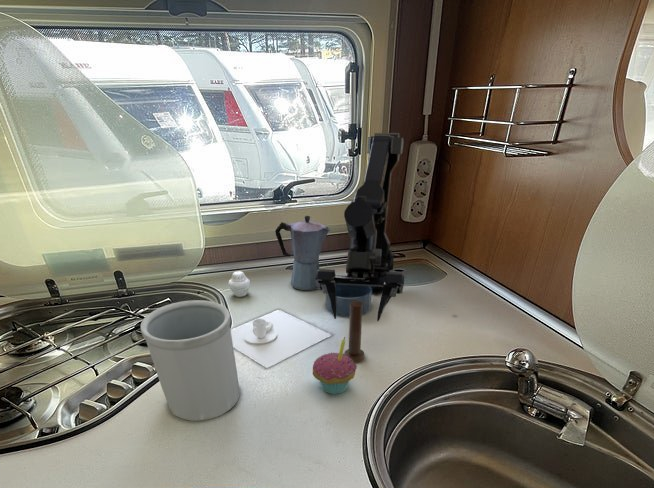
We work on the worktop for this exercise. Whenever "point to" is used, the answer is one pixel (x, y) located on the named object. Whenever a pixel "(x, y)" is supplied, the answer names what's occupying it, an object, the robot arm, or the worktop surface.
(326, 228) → the moka pot
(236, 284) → the white lidded jar
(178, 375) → the utensil holder
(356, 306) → the brown flanged peg
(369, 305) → the bowl
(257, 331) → the teacup and saucer
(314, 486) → the worktop surface
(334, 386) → the cupcake
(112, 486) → the worktop surface
